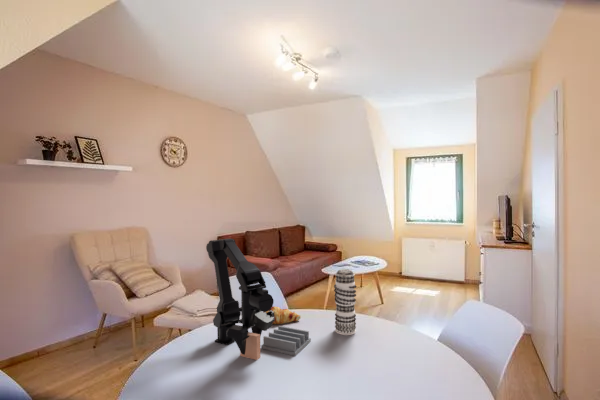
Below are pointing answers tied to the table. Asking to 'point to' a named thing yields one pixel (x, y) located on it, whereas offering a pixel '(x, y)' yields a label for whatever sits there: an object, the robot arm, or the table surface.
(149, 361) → the table surface
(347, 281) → the black-white patterned cylinder
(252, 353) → the terracotta plate
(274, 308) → the croissant
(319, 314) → the table surface
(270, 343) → the dish rack
